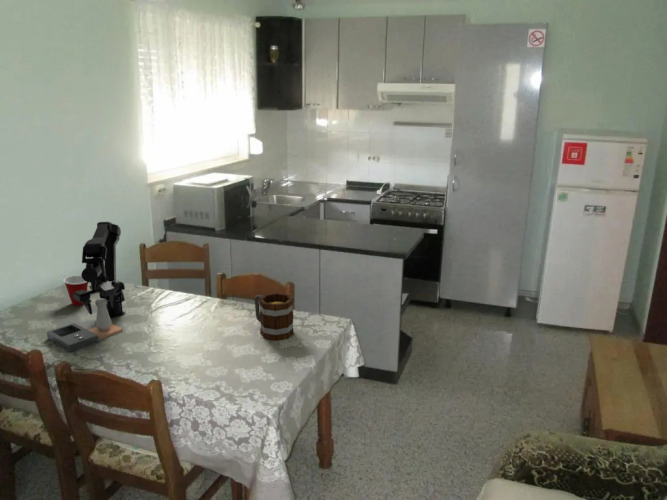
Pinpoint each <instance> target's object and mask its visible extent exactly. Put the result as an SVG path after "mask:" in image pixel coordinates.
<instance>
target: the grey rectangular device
mask: <svg viewBox="0 0 667 500" xmlns="http://www.w3.org/2000/svg"><path fill="white" fill-rule="evenodd" d="M46 339H47V340H48V341H50V342H52V343H53V344H55V345H57V346H58V347H60V348H62V349H63V350H66V351H67V352H68V353H72V352H76V351H79V350H81V349H83V348H84V349H85V348H86V347H89V346H92V345H95V344H98V343H99V339H98V335H96V334H94V333H92V332H91V331H89V330H88V329H86V328H85V327H83V326H81V325H78V324H77V323H76V322H73V323H70V324H67V325H64V326H61V327H58V328H55V329H51V330H48V331H46Z"/></svg>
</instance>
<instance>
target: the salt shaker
mask: <svg viewBox="0 0 667 500" xmlns="http://www.w3.org/2000/svg"><path fill="white" fill-rule="evenodd" d="M94 303H95V306H96V308H97V309H96V320H95V327H97V328H98V330H99V331H102V332H104V331H108V330H109V329H110V327H111V323H112V319H111V318H110V316H109V313H108V310H107V307H106V305H107V300H106V299H104V298H100V297H99V298H97V299H96V300H95V302H94Z"/></svg>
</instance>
